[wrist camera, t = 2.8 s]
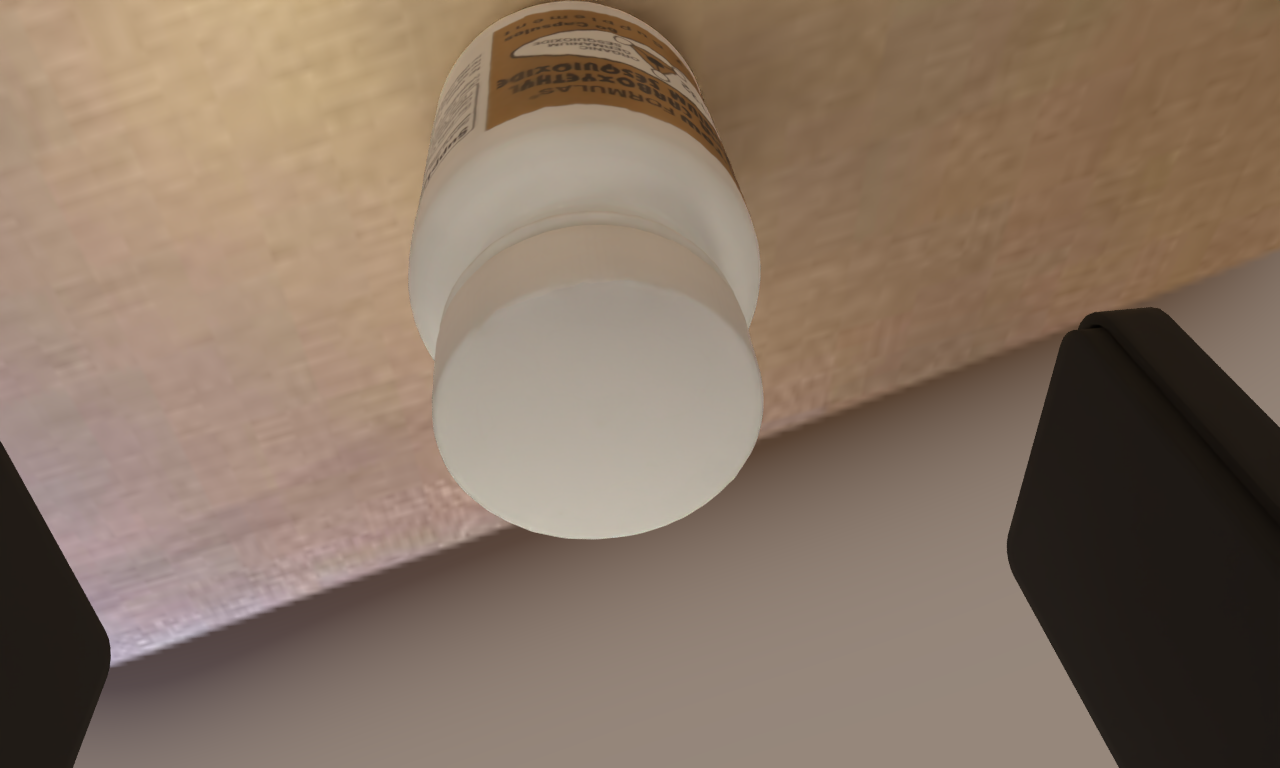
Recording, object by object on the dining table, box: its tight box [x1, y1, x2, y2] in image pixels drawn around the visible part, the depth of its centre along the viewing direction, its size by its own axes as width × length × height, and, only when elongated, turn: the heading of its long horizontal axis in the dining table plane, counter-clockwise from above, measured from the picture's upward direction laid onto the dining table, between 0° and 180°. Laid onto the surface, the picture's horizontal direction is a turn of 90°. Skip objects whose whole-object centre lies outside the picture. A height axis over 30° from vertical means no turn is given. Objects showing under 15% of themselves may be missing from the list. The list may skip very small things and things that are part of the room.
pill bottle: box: [408, 0, 764, 539], centre depth 13 cm, size 4×4×8 cm
